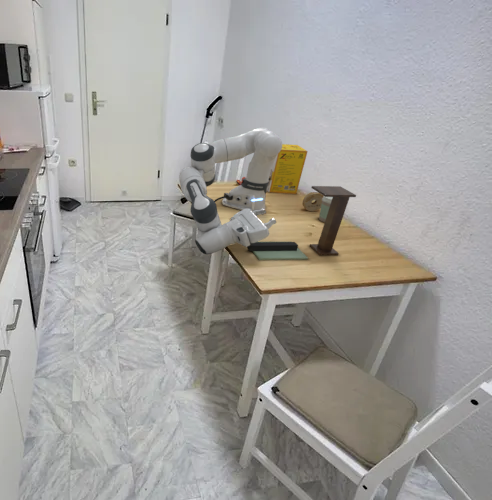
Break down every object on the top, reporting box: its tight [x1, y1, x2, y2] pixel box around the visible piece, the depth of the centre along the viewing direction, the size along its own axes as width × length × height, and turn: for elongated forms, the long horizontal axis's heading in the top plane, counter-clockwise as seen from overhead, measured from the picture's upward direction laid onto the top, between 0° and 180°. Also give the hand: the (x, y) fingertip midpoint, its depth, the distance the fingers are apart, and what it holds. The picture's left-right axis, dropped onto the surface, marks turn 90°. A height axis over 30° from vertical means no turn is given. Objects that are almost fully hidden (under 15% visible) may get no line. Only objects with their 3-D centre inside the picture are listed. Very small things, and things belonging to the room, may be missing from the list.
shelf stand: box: [309, 185, 357, 256], centre depth 142 cm, size 14×10×26 cm
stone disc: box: [302, 191, 324, 212], centre depth 187 cm, size 10×4×10 cm, turn 89°
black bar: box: [246, 241, 299, 252], centre depth 146 cm, size 20×3×2 cm, turn 97°
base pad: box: [251, 247, 309, 261], centre depth 146 cm, size 20×14×1 cm
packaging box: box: [267, 143, 308, 195], centre depth 214 cm, size 16×16×25 cm
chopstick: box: [236, 179, 242, 186], centre depth 218 cm, size 2×24×1 cm, turn 2°
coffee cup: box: [318, 196, 333, 223], centre depth 176 cm, size 8×8×12 cm
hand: (270, 215), depth 139 cm, fingers open, 8 cm apart
